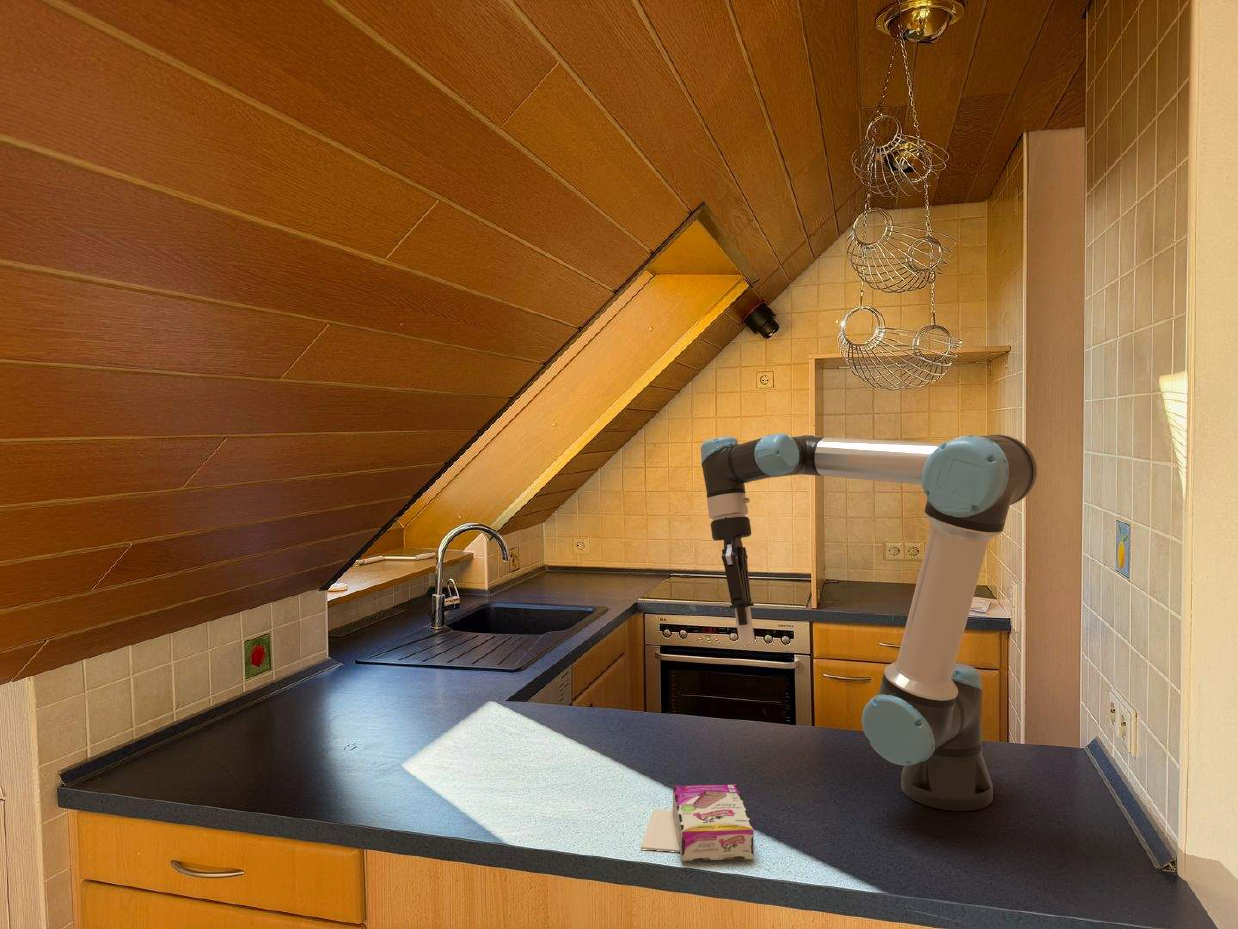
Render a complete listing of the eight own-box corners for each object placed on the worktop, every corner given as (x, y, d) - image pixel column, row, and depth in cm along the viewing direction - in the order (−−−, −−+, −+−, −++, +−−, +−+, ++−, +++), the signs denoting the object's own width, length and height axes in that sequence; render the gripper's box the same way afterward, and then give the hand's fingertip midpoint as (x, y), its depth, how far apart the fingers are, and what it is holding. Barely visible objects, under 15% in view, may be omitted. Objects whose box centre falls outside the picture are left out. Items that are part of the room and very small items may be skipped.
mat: (653, 812, 144) (653, 809, 144) (748, 818, 141) (748, 815, 141) (640, 850, 131) (640, 847, 131) (744, 858, 128) (744, 855, 128)
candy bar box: (736, 781, 143) (755, 828, 126) (736, 810, 143) (755, 861, 127) (670, 783, 142) (681, 831, 126) (671, 812, 143) (681, 863, 126)
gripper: (742, 513, 155) (761, 643, 151) (754, 517, 167) (772, 637, 163) (702, 519, 157) (720, 647, 153) (717, 522, 169) (734, 641, 165)
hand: (747, 642), depth 158 cm, fingers closed
